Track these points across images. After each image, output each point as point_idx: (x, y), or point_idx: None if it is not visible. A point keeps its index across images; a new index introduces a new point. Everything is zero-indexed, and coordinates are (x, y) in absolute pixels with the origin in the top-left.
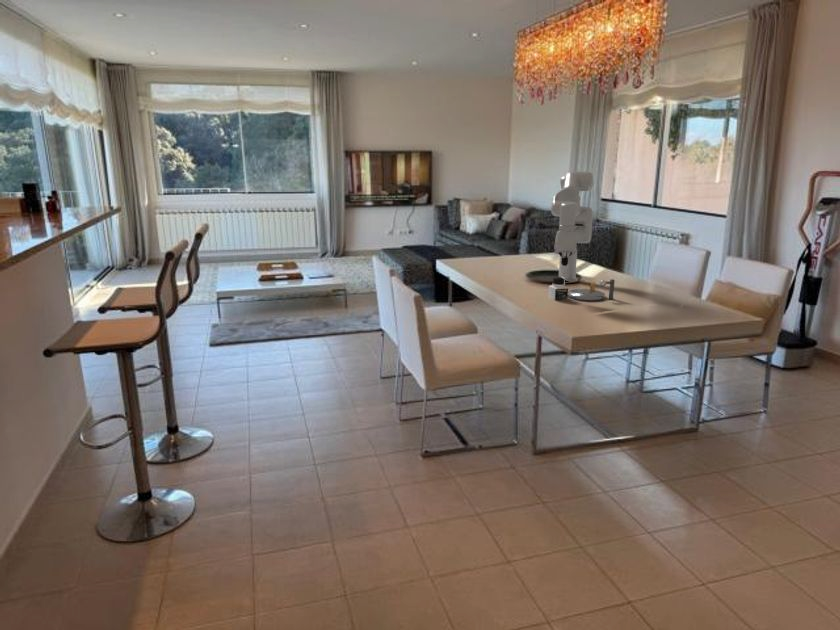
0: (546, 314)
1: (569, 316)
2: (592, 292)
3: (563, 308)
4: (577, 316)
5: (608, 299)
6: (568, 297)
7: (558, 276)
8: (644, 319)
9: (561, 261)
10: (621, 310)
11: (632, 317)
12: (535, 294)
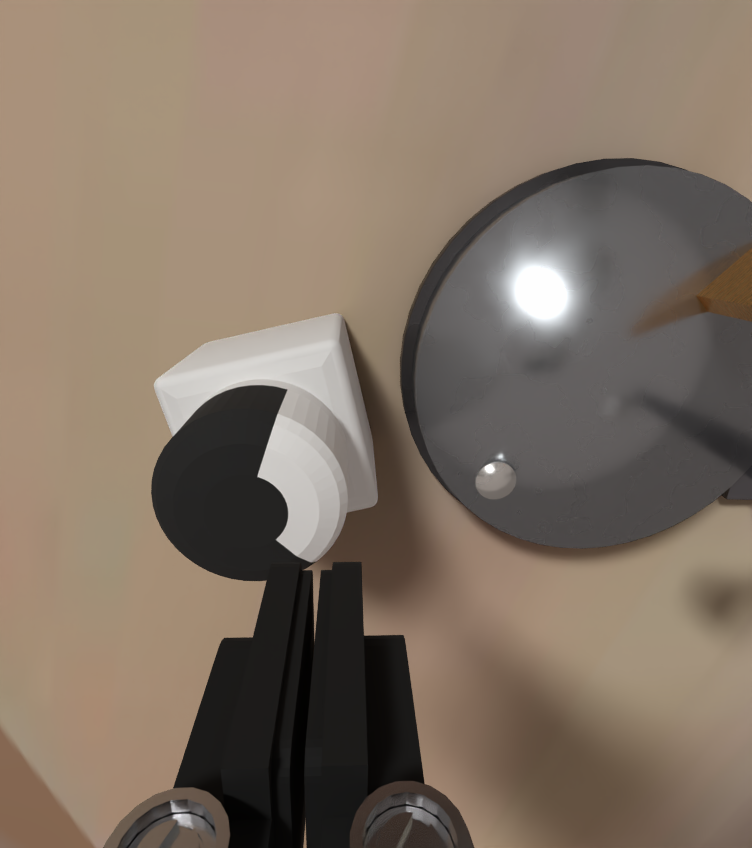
0: (124, 752)
1: None
2: (688, 360)
3: None
4: None
5: (745, 476)
6: (404, 382)
7: (245, 461)
8: (692, 836)
9: (212, 690)
10: (675, 690)
11: (650, 808)
12: (77, 117)
